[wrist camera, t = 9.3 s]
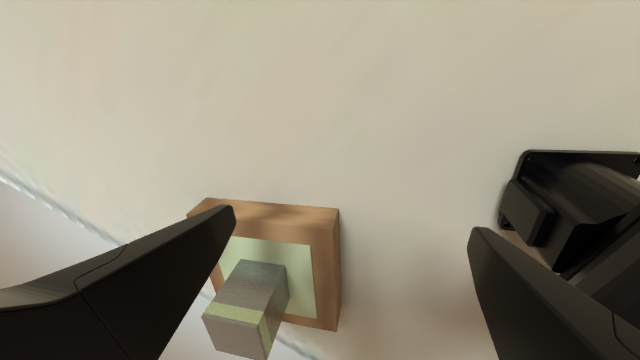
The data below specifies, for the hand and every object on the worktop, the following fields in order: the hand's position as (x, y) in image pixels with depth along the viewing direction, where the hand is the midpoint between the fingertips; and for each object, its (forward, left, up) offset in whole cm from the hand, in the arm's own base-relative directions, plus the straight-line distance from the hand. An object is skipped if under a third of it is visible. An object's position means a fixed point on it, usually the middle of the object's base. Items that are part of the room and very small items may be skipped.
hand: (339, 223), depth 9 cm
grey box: (+9, +14, -8) cm, 18 cm away
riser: (+9, +14, -11) cm, 20 cm away
